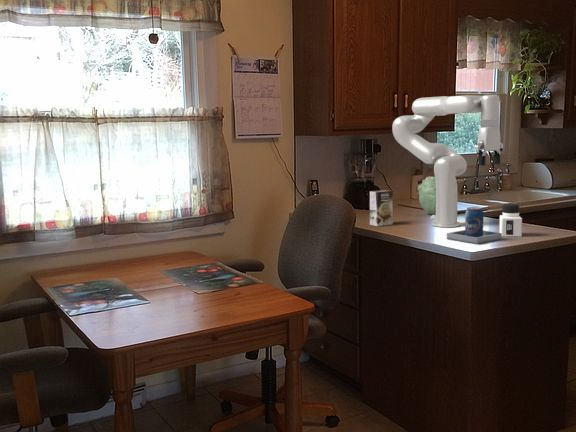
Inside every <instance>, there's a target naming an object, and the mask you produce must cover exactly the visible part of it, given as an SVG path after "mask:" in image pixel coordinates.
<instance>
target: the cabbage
mask: <svg viewBox="0 0 576 432" xmlns="http://www.w3.org/2000/svg"><path fill="white" fill-rule="evenodd" d="M417 191H418V193H417V195H418V201H419V204H420V205H421V207H422V209H423V210H424V211H425V212H426V213H427V214H429V215H431V216H432V215H436V180H435V176H430V175H429V176H426V178H425V179H422V181H421V184H418V185H417Z"/></svg>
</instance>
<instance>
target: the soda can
mask: <svg viewBox="0 0 576 432" xmlns="http://www.w3.org/2000/svg"><path fill="white" fill-rule="evenodd" d="M464 217H465V219H464V222H465V223H464V225H465V227H464V230H465V235H466V236H471V237H481V236H483V230H484V211H483V208H482V207H477V206H476V207H475V206H474V207H473V206H471V207H466V211H465V216H464Z"/></svg>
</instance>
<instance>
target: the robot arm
mask: <svg viewBox="0 0 576 432" xmlns="http://www.w3.org/2000/svg"><path fill="white" fill-rule="evenodd" d="M500 102H501V101H500V96H499V94H485V95H470V94H469V95H467V94H466V95H451V96H445V95H443V96H431V97H428V96H427V97H420V98H417V99H415V100H414V101H413V102H412V106H411V111H412V112H413V113H414V114H413V115H401V116H399V117H396V118H395V119H394V120H393V121H392V126H391V127H392V128H391V129H392V131H391V132H392V135H393V137H394V139H395V141H396V142H397V143H398V144H400V146H401V147H403V148H404V149H406V150H407V151H408V152H409V153H411V154H412V155H413V156H415V157H416V158H417V159H419V160H421V161H422V162H423V163H424V164H427V165H434V166H433V173H434V177H435V180H436V215H432V214H431V216H430V217H429V218H430V220H433V221H432V226H433V227H438V228H456V227H460V226H461V222H460V221H458V183H457V179H456V177H459V176H460V175H463V174H464V173H465V172H466V170H467V167H468V166H467V165H468V163H467V161H466V159H465V158H464V157H463V156H462V155H461V154H459V153H458V152H457V151H455V150H453V149H452V148H451V147H450V146H448V145H446V144H444V143H442V142H441V143H440V142H434V143H433V142H429V141H428V140H426V139H425V138H423V137H422V136H421V135H418V133H420V132H422V131H423V130H424V129H425V128H426V127H427V125H428V124H430V122H431V121H433V120H434V118H435V116H437V117H439V116H446V115H455V114H458V115H459V114H479V113H480V127H479V131H478V136H477V144H476V145H475V146H474V147H475V148H474V149H475V150H476V152H475V153H476V154H477V156H478V160H477V161H478V166H483V167H484V166H486V163H487V162H486V161H487V159H486V153H487V152H492V153H493V155H492V164H494V165H500V164H501V155H502V151H503V148H504V143H503V142H501V130H500Z"/></svg>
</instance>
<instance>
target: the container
mask: <svg viewBox="0 0 576 432" xmlns="http://www.w3.org/2000/svg"><path fill="white" fill-rule="evenodd" d="M501 207H502V208H501V209H502V215H501V214H500V215H499V229H498V230H499V231H498V233H502V237H522V232H523V230H522V229H523V217H521V216H520V205H519V204H517V203H511V202H509V203H504V204H503V205H502V206H501Z"/></svg>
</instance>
